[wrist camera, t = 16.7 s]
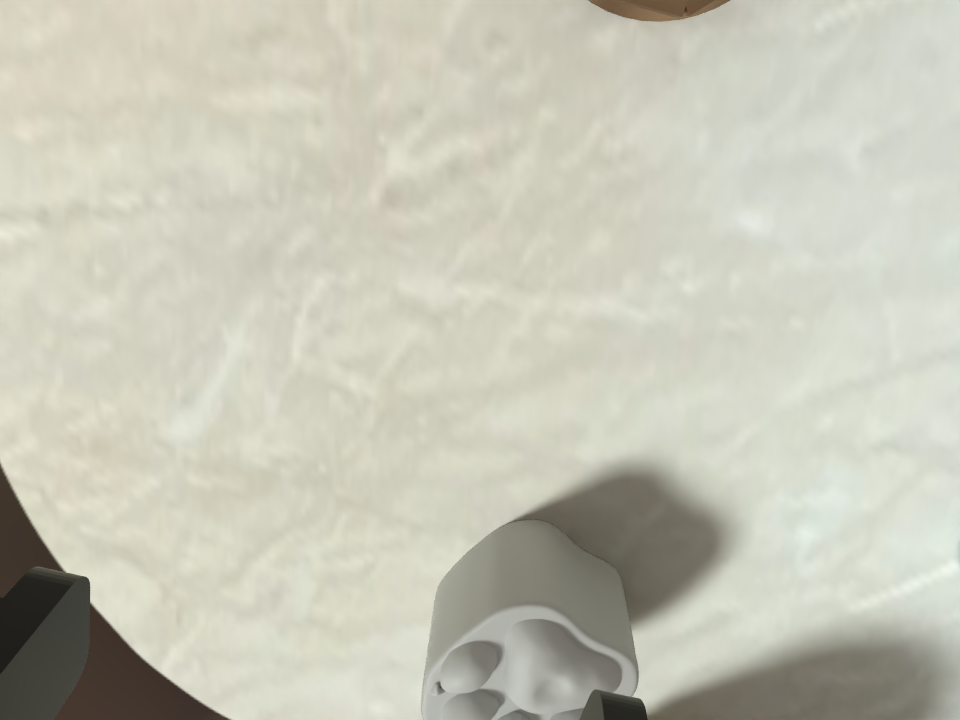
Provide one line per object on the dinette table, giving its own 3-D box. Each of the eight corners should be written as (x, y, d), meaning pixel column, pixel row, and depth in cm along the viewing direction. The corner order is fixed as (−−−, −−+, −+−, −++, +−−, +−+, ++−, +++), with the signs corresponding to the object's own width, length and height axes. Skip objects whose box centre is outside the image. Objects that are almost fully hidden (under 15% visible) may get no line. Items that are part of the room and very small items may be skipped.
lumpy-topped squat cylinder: (644, 587, 46) (671, 703, 38) (514, 696, 51) (514, 819, 43) (519, 500, 44) (520, 604, 36) (394, 623, 48) (371, 739, 40)
